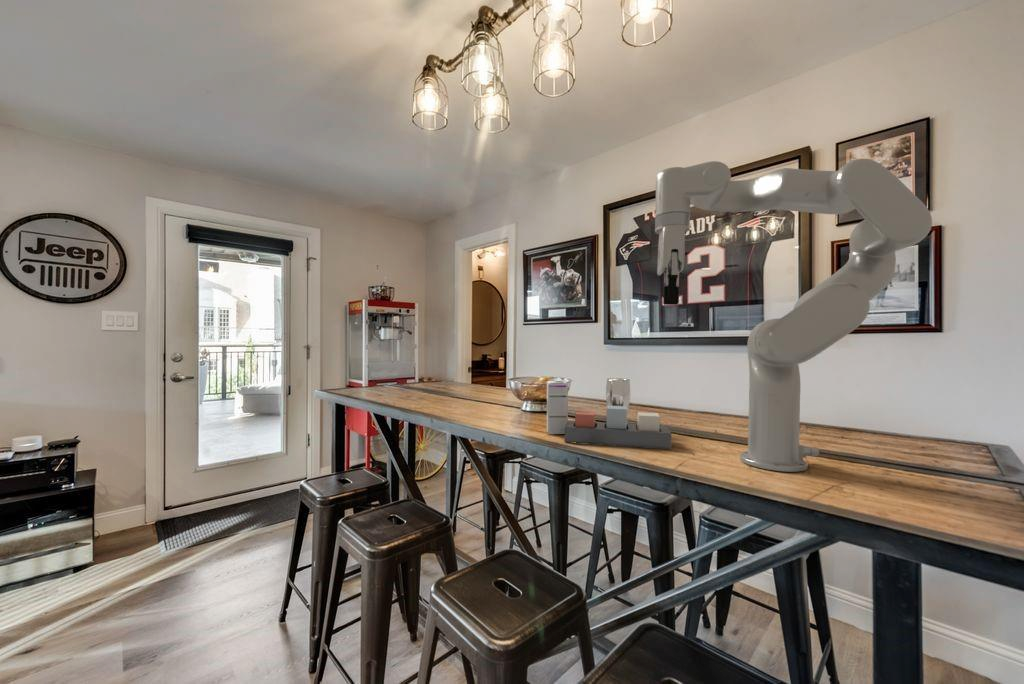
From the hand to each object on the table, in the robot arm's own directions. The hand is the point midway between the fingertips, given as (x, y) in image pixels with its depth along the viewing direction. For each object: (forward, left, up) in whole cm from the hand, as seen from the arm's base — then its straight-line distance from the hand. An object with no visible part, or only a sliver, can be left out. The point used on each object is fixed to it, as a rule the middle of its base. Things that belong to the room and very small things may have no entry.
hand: (670, 304), depth 99 cm
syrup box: (+21, -25, -35) cm, 48 cm away
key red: (+15, -16, -33) cm, 40 cm away
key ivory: (0, -11, -33) cm, 34 cm away
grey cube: (+8, -13, -31) cm, 35 cm away
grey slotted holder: (+8, -13, -35) cm, 38 cm away
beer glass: (+2, -27, -35) cm, 44 cm away
